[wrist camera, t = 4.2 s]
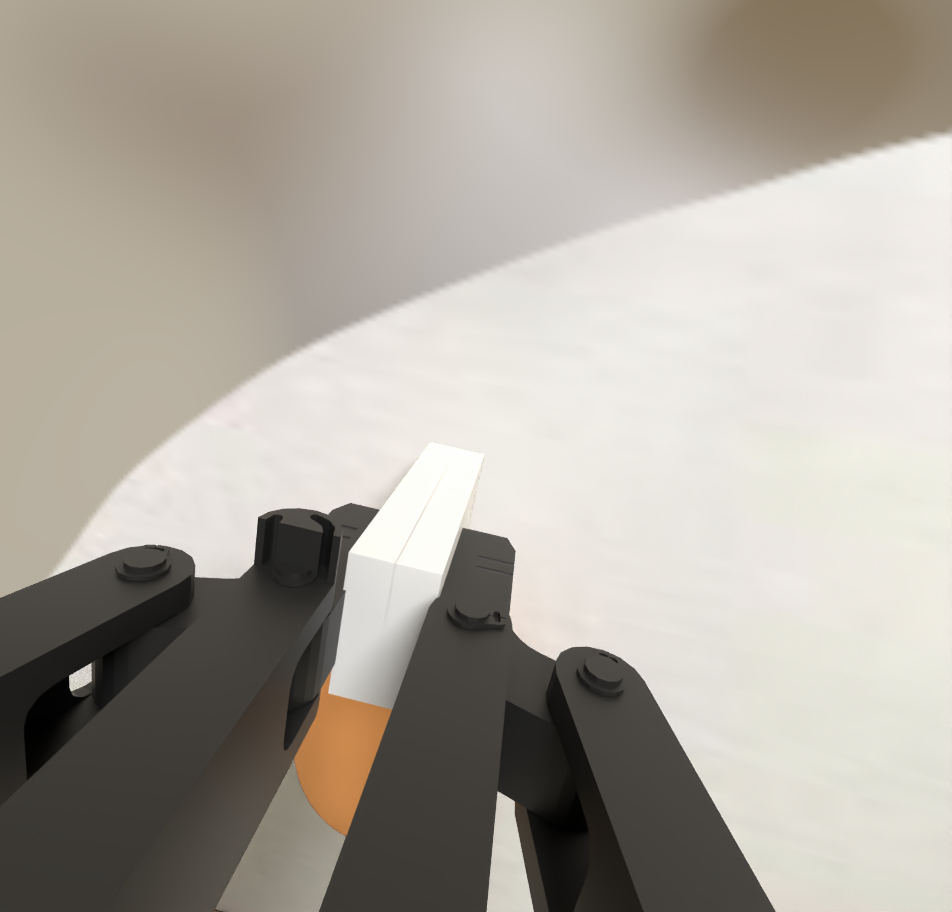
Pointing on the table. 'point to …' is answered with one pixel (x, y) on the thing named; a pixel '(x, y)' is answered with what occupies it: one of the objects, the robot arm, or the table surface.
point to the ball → (339, 755)
